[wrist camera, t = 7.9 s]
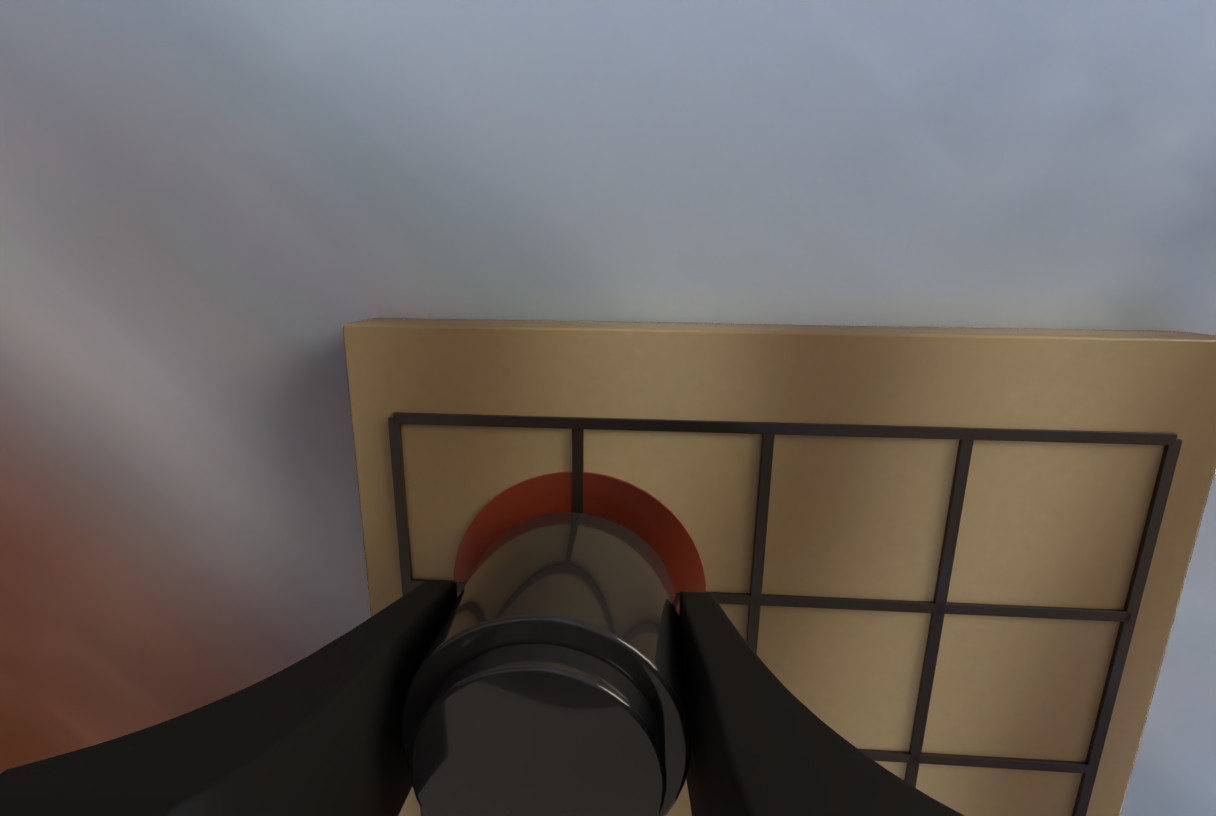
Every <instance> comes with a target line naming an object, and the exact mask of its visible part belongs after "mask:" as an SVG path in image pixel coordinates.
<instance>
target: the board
mask: <svg viewBox="0 0 1216 816" xmlns="http://www.w3.org/2000/svg"><path fill="white" fill-rule="evenodd" d="M343 336H344V346H345V356H346V366H347V376H348V387H349V397H350V407H351V417H352V427H353V437H354V448H355V458H356V468H357V478H358V488H359V498H360V508H361V519H362V529H363V539H364V549H365V559H366V569H367V580H368V590H369V600H370V610H371V617H372V616H374V615H375V614H377V613H378V612H380V611H381V610H383V609H384V608H386V607H387V606H389V605H390V604H392V603H393V602H395V601H396V600H398V599H399V598H401V597H402V596H404V595H405V594H407V593H408V592H410V591H411V590H413V589H414V588H416V587H417V586H419V585H421V584H423V583H424V582H426V581H451V582H456V584H457V598H458V596H459V594H460V592H461V590H462V589H463V587H464V585H465V583H466V582H467V580H468V578H469V576H470V575H471V573H472V571H473V569H474V567H475V566H476V564H477V562H478V560H479V559H480V557H481V556H482V554H483V553H484V551H485V550H486V549H487V548H488V547H489V545H490V544H491V543H492V542H493V541H494V540H495V539H496V538H498V537H499V536H500V535H501V534H502V533H504V532H505V531H506V530H508V529H510V528H511V527H513V526H515V525H517V524H519V523H521V522H523V521H526V520H528V519H531V518H534V517H538V516H541V515H546V514H553V513H567V512H573V513H583V514H590V515H594V516H599V517H602V518H605V519H608V520H610V521H613V522H615V523H617V524H619V525H621V526H623V527H625V528H627V529H629V530H630V531H632V532H633V533H635V534H636V535H638V536H639V537H640V538H642V539H643V540H644V541H645V542H646V543H647V544H648V545H650V547H651V548H652V549H653V550H654V551H655V552H656V553H657V554H658V555H659V557H660V558H661V560H662V561H663V563H664V564H665V566H666V567H667V569H668V571H669V573H670V575H671V577H672V580H673V583H674V586H675V589H676V593H677V598H678V604H679V609H680V591H684V592H707V593H711V594H712V595H713V596H714V597H715V598H716V600H717V601H718V603H719V604H720V606H721V607H722V609H723V610H724V612H725V613H726V615H727V616H728V618H729V619H730V620H731V622H732V623H733V625H734V626H735V627H736V629H737V630H738V631H739V633H740V634H741V635H742V637H743V638H744V639H745V641H746V642H747V643H748V644H749V646H750V647H751V648H752V649H753V651H754V652H755V653H756V654H757V655H758V657H759V658H760V659H761V660H762V662H763V663H764V664H765V665H766V666H767V667H768V668H769V670H770V671H771V672H772V673H773V674H774V675H775V676H776V677H777V678H778V679H779V681H780V682H781V683H782V684H783V685H784V686H785V687H786V688H787V689H788V690H789V691H790V692H791V693H792V694H793V695H794V696H795V697H796V698H797V699H798V700H799V701H801V702H802V703H803V704H804V705H805V706H806V707H807V708H808V709H809V710H810V711H812V712H813V713H814V714H815V715H816V716H817V717H818V718H819V719H820V720H822V721H823V722H824V723H825V724H827V725H828V726H829V727H830V728H831V729H833V730H834V731H835V732H836V733H838V734H839V735H840V736H842V737H843V738H844V739H845V740H847V741H848V742H849V743H851V744H852V745H853V746H855V747H856V748H857V749H859V750H860V751H861V752H863V753H864V754H865V755H867V756H868V757H870V758H871V759H872V760H874V761H875V762H877V763H878V764H880V765H881V766H883V767H884V768H885V769H887V770H888V771H890V772H891V773H893V774H895V775H896V776H898V777H899V778H901V779H902V780H904V781H906V782H907V783H909V784H910V785H912V786H913V787H915V788H917V789H918V790H920V791H921V792H923V793H925V794H926V795H928V796H930V797H931V798H933V799H935V800H937V801H939V802H940V803H942V804H944V805H946V806H948V807H950V808H951V809H953V810H955V811H957V812H959V813H960V814H962V815H964V816H1120V814H1121V810H1122V806H1123V803H1124V799H1125V795H1126V792H1127V788H1128V784H1129V781H1130V777H1131V774H1132V770H1133V766H1134V763H1135V759H1136V755H1137V752H1138V748H1139V744H1140V741H1141V737H1142V734H1143V730H1144V726H1145V723H1146V719H1147V715H1148V712H1149V708H1150V705H1151V701H1152V697H1153V694H1154V690H1155V686H1156V683H1157V679H1158V675H1159V672H1160V668H1161V665H1162V661H1163V657H1164V654H1165V650H1166V646H1167V643H1168V639H1169V635H1170V632H1171V628H1172V625H1173V621H1174V617H1175V614H1176V610H1177V606H1178V603H1179V599H1180V595H1181V592H1182V588H1183V585H1184V581H1185V577H1186V574H1187V570H1188V566H1189V563H1190V559H1191V555H1192V552H1193V548H1194V545H1195V541H1196V537H1197V534H1198V530H1199V526H1200V523H1201V519H1202V515H1203V512H1204V508H1205V505H1206V501H1207V497H1208V494H1209V490H1210V486H1211V483H1212V479H1213V475H1214V472H1215V468H1216V336H1214V335H1207V334H1199V333H1191V332H1183V331H1125V330H1065V329H1006V328H946V327H886V326H826V325H766V324H707V323H647V322H587V321H527V320H467V319H408V318H372V319H367V320H362V321H357V322H352V323H347V324H344V325H343ZM398 816H425V814H424V813H423V811H422V809H421V807H420V805H419V803H418V801H417V799H416V796H415V792H414V789H413V786H412V788H411V790H410V792H409V794H408V796H407V799H406V801H405V803H404V805H403V807H402V809H401V811H400V813H399V815H398ZM666 816H692V812H691V806H690V799H689V793H688V786H687V780H686V781H685V784H684V786H683V788H682V790H681V792H680V794H679V796H678V798H677V801H676V802H675V804H674V805H673V806H672V808H671V809H670V811H669V812H668V814H667V815H666Z"/></svg>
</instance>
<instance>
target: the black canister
mask: <svg viewBox="0 0 1216 816" xmlns="http://www.w3.org/2000/svg"><path fill="white" fill-rule="evenodd" d="M400 734H401V744H402V750H403V755H404V758H405V761H406V764H407V768H408V770H409V772H410V775H411V781H412V786H413V789H414V792H415V796H416V799H417V801H418V803H419V805H420V807H421V809H422V811H423V813H424V814H425V816H666V815H667V814H668V812H669V811H670V809H671V808H672V806H673V805H674V804H675V802H676V801H677V798H678V796H679V794H680V792H681V790H682V788H683V786H684V784H685V781H686V777H687V774H688V771H689V766H690V759H691V731H690V721H689V710H688V699H687V689H686V678H685V668H684V660H683V652H682V642H681V632H680V621H679V604H678V598H677V593H676V589H675V586H674V583H673V580H672V577H671V575H670V573H669V571H668V569H667V567H666V566H665V564H664V563H663V561H662V560H661V558H660V557H659V555H658V554H657V553H656V552H655V551H654V550H653V549H652V548H651V547H650V545H648V544H647V543H646V542H645V541H644V540H643V539H642V538H640V537H639V536H638V535H636V534H635V533H633V532H632V531H630V530H629V529H627V528H625V527H623V526H621V525H619V524H617V523H615V522H613V521H610V520H608V519H605V518H602V517H599V516H594V515H590V514H583V513H573V512H567V513H553V514H546V515H541V516H538V517H534V518H531V519H528V520H526V521H523V522H521V523H519V524H517V525H515V526H513V527H511V528H510V529H508V530H506V531H505V532H504V533H502V534H501V535H500V536H499V537H498V538H496V539H495V540H494V541H493V542H492V543H491V544H490V545H489V547H488V548H487V549H486V550H485V551H484V553H483V554H482V556H481V557H480V559H479V560H478V562H477V564H476V566H475V567H474V569H473V571H472V573H471V575H470V576H469V578H468V580H467V582H466V583H465V585H464V587H463V589H462V590H461V592H460V594H459V596H458V598H457V599H456V601H455V603H454V605H453V606H452V608H451V610H450V612H449V614H448V615H447V617H446V619H445V621H444V622H443V624H442V626H441V628H440V629H439V631H438V633H437V635H436V637H435V638H434V640H433V642H432V644H431V645H430V647H429V649H428V651H427V653H426V654H425V656H424V658H423V660H422V661H421V663H420V665H419V667H418V668H417V670H416V672H415V674H414V676H413V678H412V680H411V682H410V684H409V686H408V688H407V691H406V694H405V697H404V701H403V704H402V711H401V718H400Z"/></svg>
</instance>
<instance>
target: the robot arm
mask: <svg viewBox="0 0 1216 816" xmlns="http://www.w3.org/2000/svg"><path fill="white" fill-rule="evenodd" d="M456 599H457V584H456V582H451V581H426V582H424V583H423V584H421V585H419V586H417V587H416V588H414V589H413V590H411V591H410V592H408V593H407V594H405V595H404V596H402V597H401V598H399V599H398V600H396V601H395V602H393V603H392V604H390V605H389V606H387V607H386V608H384V609H383V610H381V611H380V612H378V613H377V614H375V615H374V616H372V617H371V618H369V619H368V620H366V621H365V622H363V623H362V624H360V625H359V626H357V627H356V628H354V629H352V630H351V631H349V632H348V633H346V634H344V635H343V636H341V637H339V638H338V639H336V640H334V641H333V642H331V643H329V644H328V645H326V646H324V647H323V648H321V649H319V650H318V651H316V652H314V653H313V654H311V655H309V656H308V657H306V658H304V659H302V660H301V661H299V662H297V663H295V664H293V665H291V666H289V667H288V668H286V669H284V670H282V671H280V672H278V673H276V674H274V675H272V676H270V677H268V678H266V679H264V680H262V681H260V682H258V683H256V684H254V685H252V686H249V687H247V688H245V689H243V690H241V691H238V692H236V693H234V694H231V695H229V696H227V697H224V698H222V699H219V700H217V701H215V702H212V703H210V704H208V705H205V706H203V707H201V708H198V709H196V710H194V711H191V712H189V713H186V714H184V715H181V716H179V717H176V718H173V719H170V720H168V721H165V722H162V723H160V724H157V725H154V726H151V727H149V728H146V729H143V730H140V731H137V732H134V733H131V734H128V735H125V736H122V737H119V738H116V739H113V740H110V741H107V742H103V743H100V744H97V745H94V746H90V747H87V748H83V749H80V750H76V751H73V752H69V753H66V754H62V755H59V756H55V757H52V758H48V759H45V760H41V761H38V762H34V763H30V764H27V765H23V766H19V767H15V768H11V769H7V770H6V771H4V772H3V773H1V774H0V816H398V815H399V813H400V811H401V809H402V807H403V805H404V803H405V801H406V799H407V796H408V794H409V792H410V790H411V788H412V781H411V775H410V772H409V770H408V768H407V764H406V761H405V758H404V755H403V750H402V744H401V734H400V718H401V711H402V704H403V701H404V697H405V694H406V691H407V688H408V686H409V684H410V682H411V680H412V678H413V676H414V674H415V672H416V670H417V668H418V667H419V665H420V663H421V661H422V660H423V658H424V656H425V654H426V653H427V651H428V649H429V647H430V645H431V644H432V642H433V640H434V638H435V637H436V635H437V633H438V631H439V629H440V628H441V626H442V624H443V622H444V621H445V619H446V617H447V615H448V614H449V612H450V610H451V608H452V606H453V605H454V603H455V601H456ZM679 621H680V632H681V642H682V652H683V660H684V668H685V678H686V689H687V699H688V710H689V721H690V731H691V759H690V766H689V771H688V774H687V777H686V780H687V786H688V793H689V799H690V806H691V812H692V816H964V815H962V814H960V813H959V812H957V811H955V810H953V809H951V808H950V807H948V806H946V805H944V804H942V803H940V802H939V801H937V800H935V799H933V798H931V797H930V796H928V795H926V794H925V793H923V792H921V791H920V790H918V789H917V788H915V787H913V786H912V785H910V784H909V783H907V782H906V781H904V780H902V779H901V778H899V777H898V776H896V775H895V774H893V773H891V772H890V771H888V770H887V769H885V768H884V767H883V766H881V765H880V764H878V763H877V762H875V761H874V760H872V759H871V758H870V757H868V756H867V755H865V754H864V753H863V752H861V751H860V750H859V749H857V748H856V747H855V746H853V745H852V744H851V743H849V742H848V741H847V740H845V739H844V738H843V737H842V736H840V735H839V734H838V733H836V732H835V731H834V730H833V729H831V728H830V727H829V726H828V725H827V724H825V723H824V722H823V721H822V720H820V719H819V718H818V717H817V716H816V715H815V714H814V713H813V712H812V711H810V710H809V709H808V708H807V707H806V706H805V705H804V704H803V703H802V702H801V701H799V700H798V699H797V698H796V697H795V696H794V695H793V694H792V693H791V692H790V691H789V690H788V689H787V688H786V687H785V686H784V685H783V684H782V683H781V682H780V681H779V679H778V678H777V677H776V676H775V675H774V674H773V673H772V672H771V671H770V670H769V668H768V667H767V666H766V665H765V664H764V663H763V662H762V660H761V659H760V658H759V657H758V655H757V654H756V653H755V652H754V651H753V649H752V648H751V647H750V646H749V644H748V643H747V642H746V641H745V639H744V638H743V637H742V635H741V634H740V633H739V631H738V630H737V629H736V627H735V626H734V625H733V623H732V622H731V620H730V619H729V618H728V616H727V615H726V613H725V612H724V610H723V609H722V607H721V606H720V604H719V603H718V601H717V600H716V598H715V597H714V596H713V595H712V594H711V593H707V592H684V591H680V609H679Z"/></svg>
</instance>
